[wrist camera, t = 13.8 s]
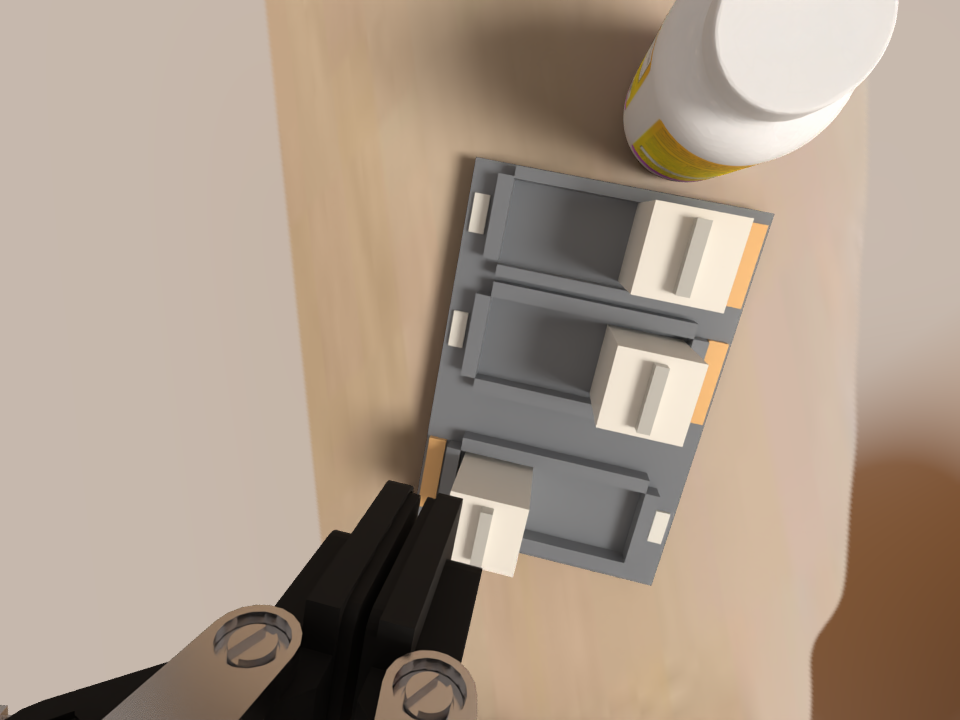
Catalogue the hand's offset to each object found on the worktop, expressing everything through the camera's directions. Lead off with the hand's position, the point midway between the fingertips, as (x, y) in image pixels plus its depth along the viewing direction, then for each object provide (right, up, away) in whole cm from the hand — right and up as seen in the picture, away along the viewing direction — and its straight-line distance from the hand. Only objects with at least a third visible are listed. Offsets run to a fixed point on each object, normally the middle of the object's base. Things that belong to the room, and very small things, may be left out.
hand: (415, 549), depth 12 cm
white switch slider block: (+2, -3, +20) cm, 21 cm away
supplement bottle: (+12, +16, +15) cm, 25 cm away
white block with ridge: (+10, +4, +17) cm, 20 cm away
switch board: (+7, +3, +20) cm, 21 cm away
